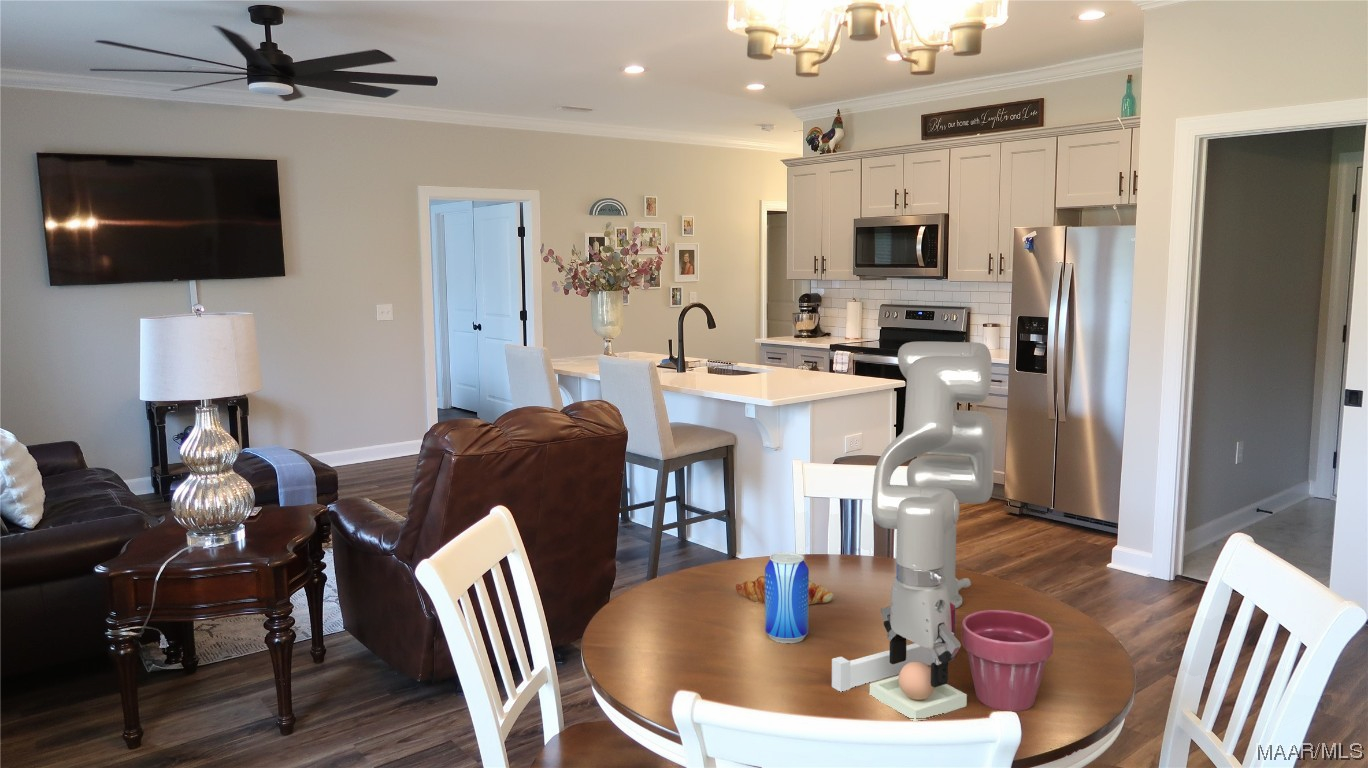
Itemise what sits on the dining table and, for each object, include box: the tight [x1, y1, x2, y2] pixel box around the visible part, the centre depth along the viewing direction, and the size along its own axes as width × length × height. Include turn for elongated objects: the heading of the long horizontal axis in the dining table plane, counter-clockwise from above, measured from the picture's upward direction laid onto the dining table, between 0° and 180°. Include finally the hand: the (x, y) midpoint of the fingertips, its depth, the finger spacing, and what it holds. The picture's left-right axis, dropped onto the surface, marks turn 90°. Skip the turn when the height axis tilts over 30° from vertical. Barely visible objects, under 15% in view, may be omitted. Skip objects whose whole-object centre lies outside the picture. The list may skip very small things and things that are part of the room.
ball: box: [898, 661, 935, 700], centre depth 151 cm, size 6×6×6 cm
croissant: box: [735, 575, 834, 605], centre depth 198 cm, size 21×10×8 cm, turn 79°
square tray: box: [869, 674, 968, 722], centre depth 151 cm, size 11×11×2 cm
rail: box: [831, 633, 954, 693], centre depth 161 cm, size 26×2×5 cm, turn 119°
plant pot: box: [961, 609, 1054, 712], centre depth 150 cm, size 14×14×13 cm
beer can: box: [764, 551, 810, 644], centre depth 177 cm, size 8×8×16 cm
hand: (918, 673), depth 151 cm, fingers open, 9 cm apart
